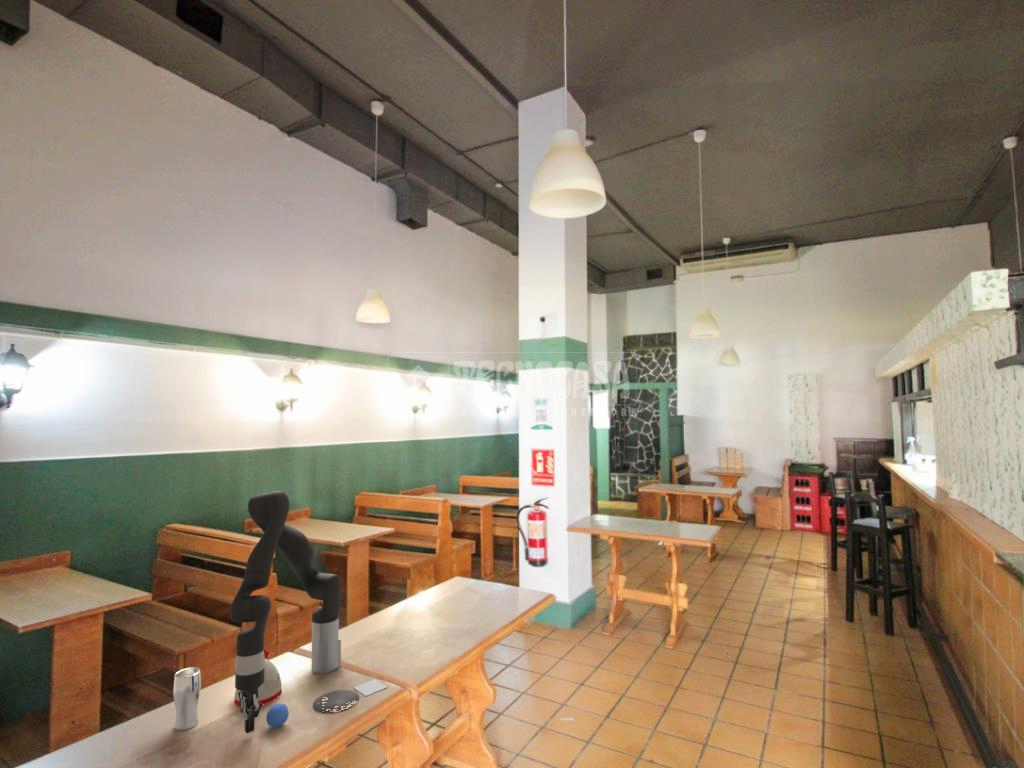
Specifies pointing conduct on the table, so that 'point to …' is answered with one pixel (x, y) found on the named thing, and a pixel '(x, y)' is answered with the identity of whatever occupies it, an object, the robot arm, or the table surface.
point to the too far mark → (370, 687)
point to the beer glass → (186, 697)
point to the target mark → (335, 700)
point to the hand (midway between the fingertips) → (249, 731)
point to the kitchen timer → (267, 684)
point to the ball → (277, 715)
